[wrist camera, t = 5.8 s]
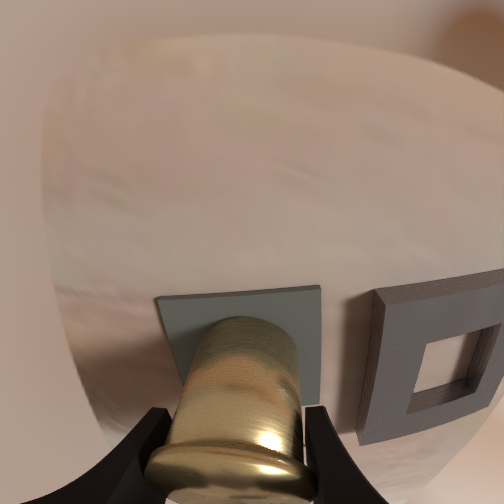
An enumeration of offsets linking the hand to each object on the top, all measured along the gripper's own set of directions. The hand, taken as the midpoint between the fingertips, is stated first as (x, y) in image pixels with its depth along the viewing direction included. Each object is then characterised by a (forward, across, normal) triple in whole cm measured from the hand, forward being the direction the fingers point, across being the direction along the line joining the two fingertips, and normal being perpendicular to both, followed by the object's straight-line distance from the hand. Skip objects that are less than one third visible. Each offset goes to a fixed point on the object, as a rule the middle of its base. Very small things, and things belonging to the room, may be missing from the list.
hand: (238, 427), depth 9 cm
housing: (+4, -11, +2) cm, 12 cm away
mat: (+4, 0, 0) cm, 4 cm away
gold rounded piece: (+4, 0, 0) cm, 4 cm away
